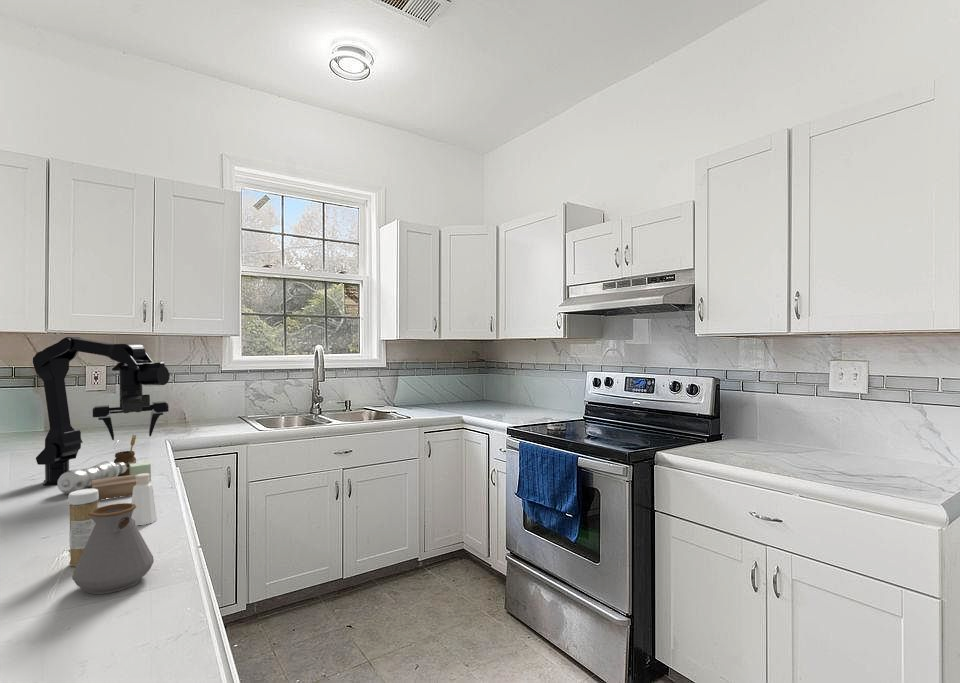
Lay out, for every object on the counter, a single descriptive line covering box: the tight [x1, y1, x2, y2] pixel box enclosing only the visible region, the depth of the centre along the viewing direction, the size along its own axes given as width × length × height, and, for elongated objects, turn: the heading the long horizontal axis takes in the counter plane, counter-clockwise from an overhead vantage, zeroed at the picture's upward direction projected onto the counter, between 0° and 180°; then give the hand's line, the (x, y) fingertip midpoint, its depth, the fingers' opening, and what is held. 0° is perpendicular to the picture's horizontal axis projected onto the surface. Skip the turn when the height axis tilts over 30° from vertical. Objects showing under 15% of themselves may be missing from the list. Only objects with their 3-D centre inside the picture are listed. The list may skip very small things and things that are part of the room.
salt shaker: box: [131, 473, 158, 527], centre depth 123 cm, size 5×5×11 cm
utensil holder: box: [113, 434, 137, 477], centre depth 169 cm, size 6×6×12 cm
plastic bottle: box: [56, 460, 127, 495], centre depth 155 cm, size 6×7×20 cm
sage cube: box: [130, 461, 152, 482], centre depth 161 cm, size 5×5×5 cm
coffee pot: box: [72, 502, 155, 595], centre depth 87 cm, size 21×12×15 cm, turn 40°
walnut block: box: [91, 474, 136, 501], centre depth 147 cm, size 10×10×4 cm
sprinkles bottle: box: [67, 488, 99, 567], centre depth 100 cm, size 5×5×14 cm
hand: (131, 438), depth 159 cm, fingers open, 9 cm apart
